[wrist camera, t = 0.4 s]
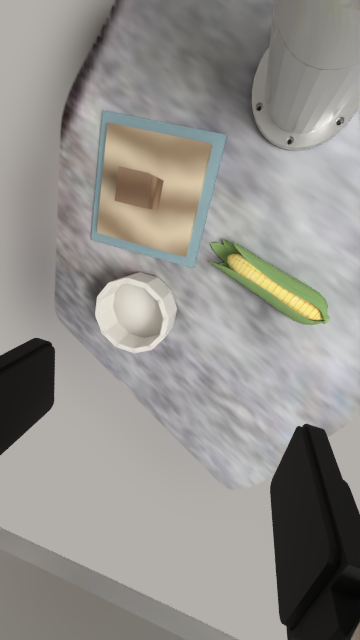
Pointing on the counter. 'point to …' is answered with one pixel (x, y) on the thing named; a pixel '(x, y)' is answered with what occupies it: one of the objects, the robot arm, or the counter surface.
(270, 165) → the counter surface
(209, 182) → the mat
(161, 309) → the bowl
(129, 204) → the lid
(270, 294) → the edible corn
